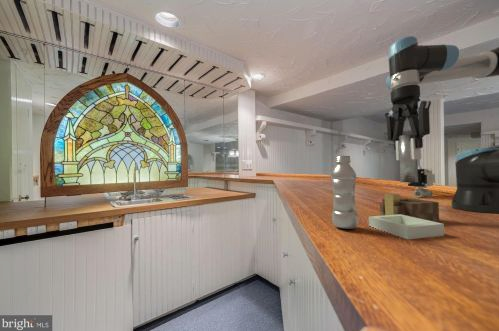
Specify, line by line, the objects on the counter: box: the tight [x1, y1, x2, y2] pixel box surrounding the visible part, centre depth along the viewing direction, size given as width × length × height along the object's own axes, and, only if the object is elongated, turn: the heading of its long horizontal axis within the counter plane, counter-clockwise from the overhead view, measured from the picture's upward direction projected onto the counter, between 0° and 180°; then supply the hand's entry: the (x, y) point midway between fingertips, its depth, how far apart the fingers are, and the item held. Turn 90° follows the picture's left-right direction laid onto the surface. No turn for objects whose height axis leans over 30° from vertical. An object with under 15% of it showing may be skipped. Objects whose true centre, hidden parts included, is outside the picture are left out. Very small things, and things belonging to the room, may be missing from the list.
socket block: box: [379, 197, 440, 223], centre depth 63 cm, size 13×10×6 cm
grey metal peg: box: [399, 133, 418, 183], centre depth 64 cm, size 4×4×15 cm
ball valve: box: [407, 165, 436, 198], centre depth 112 cm, size 18×8×18 cm, turn 124°
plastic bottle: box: [330, 155, 359, 230], centre depth 55 cm, size 6×7×20 cm
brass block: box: [383, 192, 401, 215], centre depth 62 cm, size 2×3×8 cm
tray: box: [368, 214, 445, 240], centre depth 52 cm, size 11×11×3 cm
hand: (408, 159), depth 64 cm, fingers closed on grey metal peg, 4 cm apart
